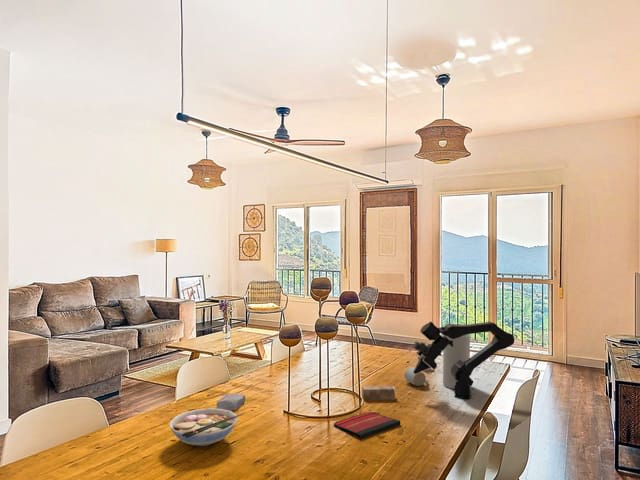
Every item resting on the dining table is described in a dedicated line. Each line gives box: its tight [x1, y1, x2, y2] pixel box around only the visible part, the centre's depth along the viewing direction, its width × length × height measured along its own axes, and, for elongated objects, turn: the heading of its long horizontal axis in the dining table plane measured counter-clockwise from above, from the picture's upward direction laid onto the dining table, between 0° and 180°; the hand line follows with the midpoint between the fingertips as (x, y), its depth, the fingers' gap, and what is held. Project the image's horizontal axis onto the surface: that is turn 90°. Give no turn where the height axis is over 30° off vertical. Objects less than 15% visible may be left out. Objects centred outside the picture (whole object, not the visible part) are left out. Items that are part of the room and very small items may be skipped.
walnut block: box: [361, 385, 396, 401], centre depth 201 cm, size 4×4×14 cm
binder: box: [333, 411, 401, 440], centre depth 170 cm, size 16×2×21 cm
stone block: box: [215, 393, 246, 411], centre depth 191 cm, size 12×5×10 cm
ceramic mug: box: [404, 366, 429, 387], centre depth 221 cm, size 11×8×8 cm
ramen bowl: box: [169, 407, 244, 447], centre depth 155 cm, size 25×23×8 cm
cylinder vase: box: [442, 334, 471, 390], centre depth 219 cm, size 12×12×25 cm
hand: (413, 373), depth 202 cm, fingers closed
